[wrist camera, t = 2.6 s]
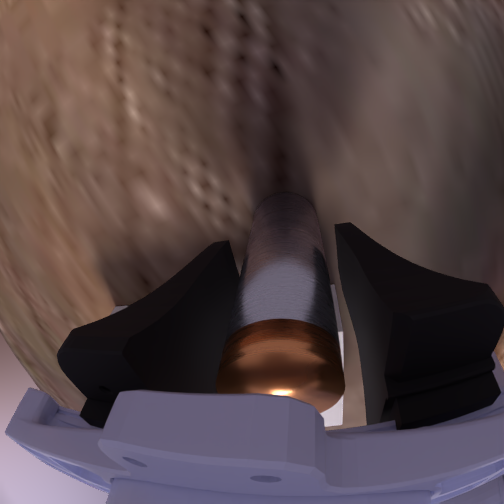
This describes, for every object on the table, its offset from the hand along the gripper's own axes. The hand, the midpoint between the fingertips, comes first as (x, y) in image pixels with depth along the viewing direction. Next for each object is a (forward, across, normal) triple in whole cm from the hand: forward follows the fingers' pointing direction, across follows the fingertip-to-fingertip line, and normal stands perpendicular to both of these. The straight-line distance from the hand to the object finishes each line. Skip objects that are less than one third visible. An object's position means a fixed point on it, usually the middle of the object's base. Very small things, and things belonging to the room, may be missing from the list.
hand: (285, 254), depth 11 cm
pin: (+3, 0, 0) cm, 3 cm away
